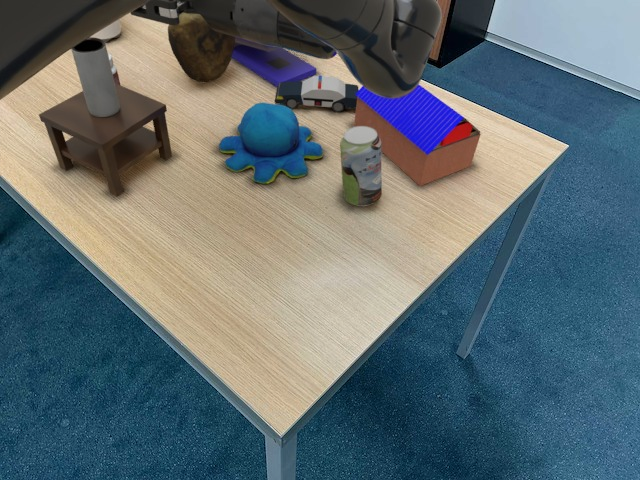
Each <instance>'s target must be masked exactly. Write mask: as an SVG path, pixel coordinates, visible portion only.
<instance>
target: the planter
mask: <svg viewBox="0 0 640 480" xmlns="http://www.w3.org/2000/svg"><path fill="white" fill-rule="evenodd" d="M70 50H71V54H72V57H73V61H74V64H75V66H76V71H77V75H78V78H79V82H80V85H81V89H82V91H83V93H84V96H85V100H86V103H87V107H88V110H89V112H90V114H91V115H93V116H96V117H108V116H112V115H114V114H116V113H117V112H118V111H119V110H120V104H119V100H118V95H117V91H116V87H115V83H114V78H113V74H112V70H111V65H110V61H109V57H108V54H109V52H108V49H107V44H106V42H104V41H103V40H101V39H99V38H93V37H89V38H87V39H86V40H84V41H82V42H81V43H79V44H78V45H76V46H75V47H73V48H72V49H70Z"/></svg>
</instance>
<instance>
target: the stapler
mask: <svg viewBox="0 0 640 480" xmlns="http://www.w3.org/2000/svg"><path fill="white" fill-rule="evenodd" d="M231 59H233V60H234V61H236V62H237V63H239V64H241V65H242V66H244V67H245V68H246V69H248V70H250V71H252V72H253V73H254V74H256V75H258V76H259V77H260V78H262V79H264V80H265V81H267V82H268V83H270V84H272V85H273V86H274V87H276V88H277V86H279V84H280V82H289V81H304V80H306V79H309V78H311V77H313V76H316V75H317V70H318V68H317V67H315V66H313V65H312V64H311V63H309V62H307V61H305V60H304V59H302V58H300V57H299V56H297V55H295V54H294V53H292V52H291V51H289V50H287V49H284V48H279V47H271V46H266V45H262V44H258V43H255V42H251V41H248V40H244V39H241V38H237V37H235V45H234V50H233V54H232V58H231Z"/></svg>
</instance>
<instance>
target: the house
mask: <svg viewBox="0 0 640 480" xmlns="http://www.w3.org/2000/svg"><path fill="white" fill-rule="evenodd" d="M358 90H359V91H358V92H357V93H356V94H355V95H356V96H357V105H356V108H355V115H354V123H353V127H357V126H367V127H371V128H373V129H374V130H376V132H377V135H378V136H379V137H380V139H381V153H383V154H384V155H385V156H386V157H387V158H388V159H389V160H390V161H391V162H392V163H394V164H395V165H396V166H397V167H398V168H399V169H400V170H402V171H403V172H404V173H405V174H406V175H407V176H408V177H409V178H410V179H412V180H413V181H414V182H415V183H416V184H417V185H418V186H419V187H422V186H424V185H427V184H429V183H432V182H434V181H437V180H440V179H442V178H444V177H446V176H449V175H452V174H454V173H458V172H460V171H463V170H464V169H468V168H469V167H471V166H472V163H473V159H474V156H475V153H476V150H477V147H478V144H479V141H480V137H481V135H482V133H481V131H480V130H479V129H478V128H477V127H475V125H473V123H471V122H470V121H469V120H468V119H466V118H465V117H464V116H463V115H461V114H460V113H459V112H457V111H456V110H455V109H454V108H452V107H451V106H449V105H448V104H447V103H445V102H444V101H442V100H441V99H440V98H438V97H437V96H435V94H433V93H432V92H430V91H429V90H428V89H426V88H425V87H423V86H422V85H421V84H419V85H418V86H417V87H416V89H415V90H414V91H413V92H411V93H410V94H408V95H406V96H404V97H401V98H395V99H391V98H385V97H381V96H378V95H376V94H374V93H372V92H371V91H369V90H367V89H366V88H365V87H364V86H362V85H361V87H360V88H359V89H358Z"/></svg>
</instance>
